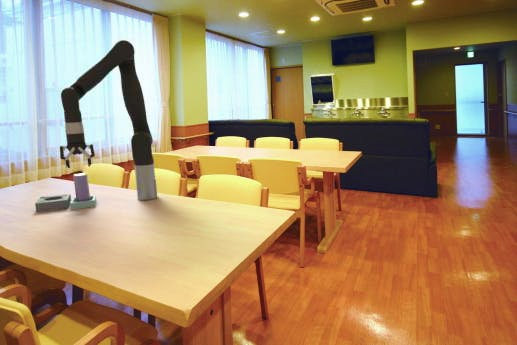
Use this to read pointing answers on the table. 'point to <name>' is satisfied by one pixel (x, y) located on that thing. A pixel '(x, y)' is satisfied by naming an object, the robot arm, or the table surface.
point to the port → (53, 202)
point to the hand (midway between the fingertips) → (79, 167)
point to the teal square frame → (83, 203)
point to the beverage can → (81, 187)
